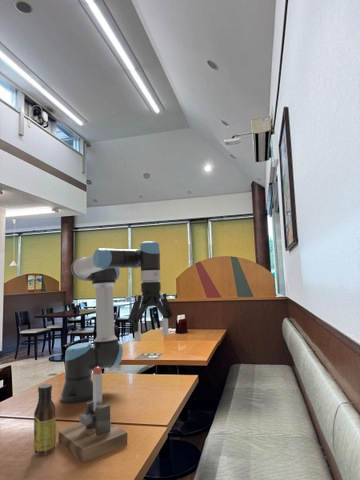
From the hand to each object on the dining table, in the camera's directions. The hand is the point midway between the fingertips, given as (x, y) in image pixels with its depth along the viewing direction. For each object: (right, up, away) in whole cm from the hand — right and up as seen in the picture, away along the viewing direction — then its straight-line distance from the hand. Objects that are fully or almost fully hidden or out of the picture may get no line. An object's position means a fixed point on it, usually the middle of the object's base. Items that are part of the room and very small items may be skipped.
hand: (152, 337), depth 124 cm
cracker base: (-18, -29, -19) cm, 38 cm away
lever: (-18, -22, -18) cm, 33 cm away
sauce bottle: (-31, -29, -23) cm, 48 cm away
